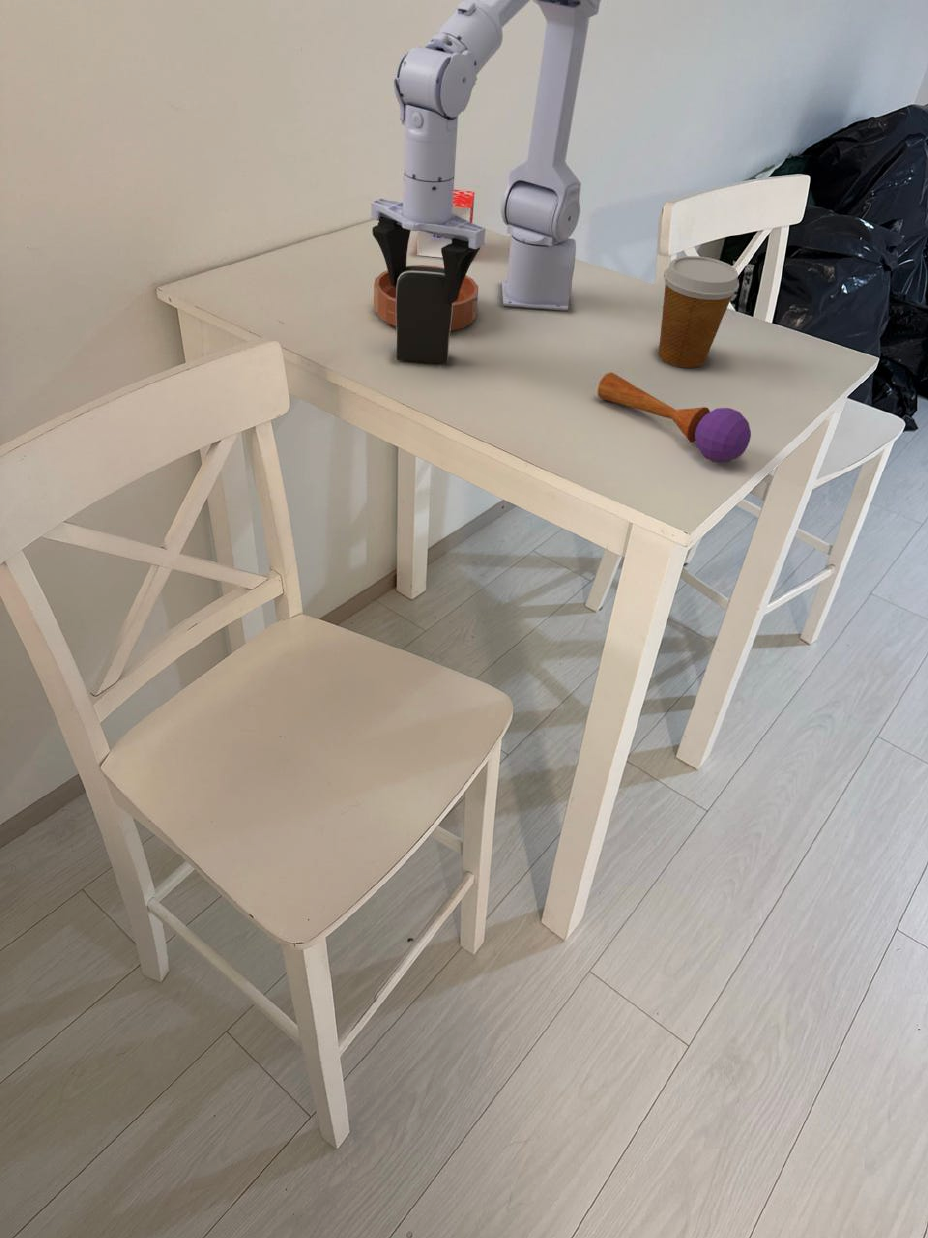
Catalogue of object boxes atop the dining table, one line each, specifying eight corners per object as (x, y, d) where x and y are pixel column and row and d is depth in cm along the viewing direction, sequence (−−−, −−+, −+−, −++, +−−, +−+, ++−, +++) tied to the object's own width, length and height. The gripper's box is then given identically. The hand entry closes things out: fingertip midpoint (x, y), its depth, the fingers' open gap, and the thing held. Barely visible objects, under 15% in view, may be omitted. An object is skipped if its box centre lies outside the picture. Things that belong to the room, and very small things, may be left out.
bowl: (475, 296, 133) (478, 269, 130) (475, 339, 122) (478, 310, 119) (378, 289, 132) (378, 261, 129) (370, 331, 121) (370, 302, 119)
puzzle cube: (470, 242, 148) (474, 191, 143) (466, 260, 143) (470, 207, 137) (422, 237, 149) (424, 186, 143) (416, 254, 143) (418, 202, 137)
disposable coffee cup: (673, 335, 127) (694, 249, 119) (730, 361, 123) (756, 272, 115) (632, 353, 122) (651, 264, 114) (690, 381, 118) (714, 290, 109)
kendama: (627, 359, 112) (767, 415, 100) (615, 406, 115) (750, 465, 104) (597, 363, 108) (739, 422, 97) (585, 411, 111) (722, 474, 100)
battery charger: (449, 351, 119) (455, 264, 111) (448, 365, 116) (454, 277, 108) (396, 347, 118) (398, 260, 111) (394, 361, 115) (396, 272, 108)
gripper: (355, 167, 101) (356, 286, 111) (466, 197, 97) (457, 320, 106) (391, 154, 106) (389, 269, 115) (498, 182, 101) (487, 300, 110)
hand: (424, 292), depth 111 cm, fingers open, 7 cm apart
